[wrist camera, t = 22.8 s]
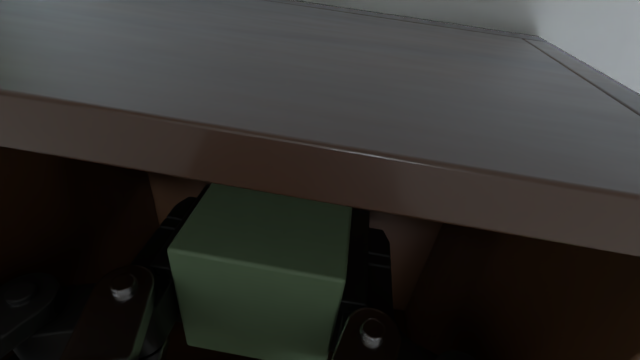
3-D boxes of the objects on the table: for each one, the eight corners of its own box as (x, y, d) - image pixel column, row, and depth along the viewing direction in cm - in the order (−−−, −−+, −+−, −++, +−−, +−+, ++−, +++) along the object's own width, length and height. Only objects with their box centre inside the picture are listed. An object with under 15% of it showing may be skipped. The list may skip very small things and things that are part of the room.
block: (228, 156, 11) (164, 249, 7) (355, 177, 11) (346, 282, 7) (233, 245, 13) (186, 346, 10) (337, 263, 13) (324, 372, 10)
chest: (98, -29, 10) (-408, 22, 3) (540, 36, 9) (896, 238, 3) (164, 262, 17) (39, 451, 11) (414, 308, 16) (439, 536, 10)
